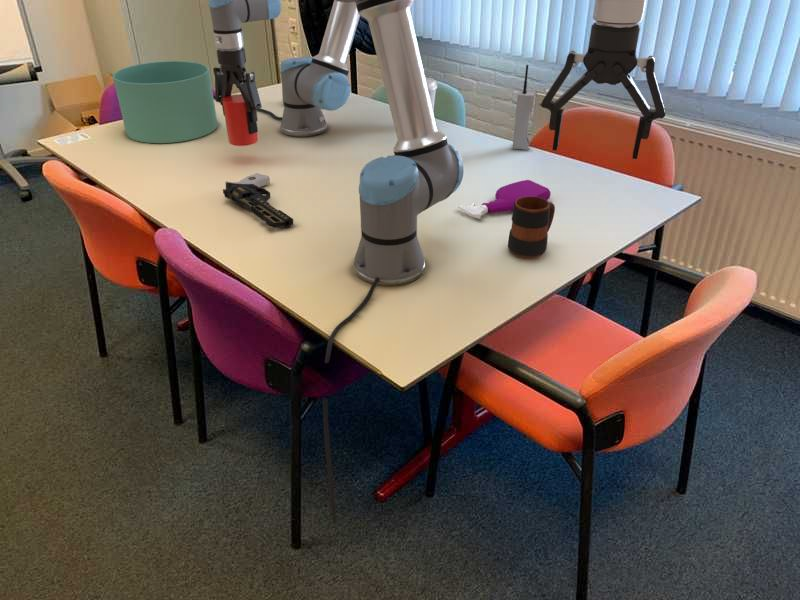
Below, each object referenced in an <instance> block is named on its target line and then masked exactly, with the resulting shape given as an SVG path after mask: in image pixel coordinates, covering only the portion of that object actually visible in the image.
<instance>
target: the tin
mask: <svg viewBox="0 0 800 600" xmlns="http://www.w3.org/2000/svg"><path fill="white" fill-rule="evenodd" d="M222 101H223V107H224V114H225V116H224V120H226V121H225V126H227V127H226V133H227V138H228V143H229V145H231V146H236V147H247V146H251V145H254V144H256V143H257V142H259V135H258V132H256V133H253V134H249V128H248V120H247V113H246V111H247V110H248V108H247V106H246V104H245V101H244V99H243V97H242V95H241V93H239V94H231V95H230V96H227V97H224V98H223V99H222ZM251 106H252V105H251ZM224 114H223V115H224Z"/></svg>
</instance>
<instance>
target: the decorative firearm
mask: <svg viewBox="0 0 800 600" xmlns="http://www.w3.org/2000/svg"><path fill="white" fill-rule="evenodd" d="M270 178H271V177H270V176H269V175H267V174H263V173H258V172H256V173H253V174H250V175H247V176H245V177H244V178H242V179H241V180H238V181H234V182H233V181H227V180H226V181H225V188H223V189H222V193H223V195H224V197H225V198H226V199H228V200H231V201H232V202H234V203H236V204H237V205H239V207H243V208H245V209H247V211H249V212H250V213H252V214H253V215H255V216H256V217H258V218H259V219H260V220H262V221H263V222H265V224H266V225H267V227H269V228H273V229H276V228H284V229H286V228H290V227H291V226H293V225H294V218H292V217H291V216H290V215H288V214H287V213H285V212H283V210H281V209H277V208H275V207H274V206H272V205H270V202H268V201H269V200H270V199H271V192H270V191H269V190H267V189H266V188H263V187H264V186H267V185H270V183H271V179H270Z"/></svg>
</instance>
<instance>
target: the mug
mask: <svg viewBox="0 0 800 600" xmlns="http://www.w3.org/2000/svg"><path fill="white" fill-rule="evenodd" d="M555 213H556V207H555V204H554V203H553V202H551V201H548V200H545V199H543V198H540V197H534V196H526V197H521V198H518V199H517V200H516V201H515V202H514V207H513V212H512V213H511V226H510V227H511V228H510V230H509V232H508V233H509V234H508V240H507V248H508V250H509V252H510V253H511V254H512V255H513V256H515V257H518V258H521V259H528V260H529V259H531V260H533V259H537V258H540V257H542V256H543V255H544V254H545V253H546V251H547V247H548V240H549V239H548V238H549V235H548V233H549V231H550V229H551V226H552V224H553V220H554V216H555Z"/></svg>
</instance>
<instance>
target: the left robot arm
mask: <svg viewBox="0 0 800 600" xmlns="http://www.w3.org/2000/svg"><path fill="white" fill-rule="evenodd" d="M207 1H208V8H209V13H210V18H211V19H210V20H211V24H212V29H213V30H212V31H213V36H214V42H215V48H216V57H217V62H218V64H219V66H215V67H213V68H212V71H213V75H214V93H215V94H214V95H213V99H214V100H215V102H216V103H219V104H220V106H221V108H222V115H223V116H224V117H225V114H224V107H223V101H222V99H223V98H224V97H227V96H230V95H232V93H233V92H232V91H233V85H235V87H236V89H238V90H239V92H240V94H241V95H242V97H243V99H244V101H245V104H246V106H247V108H248V110H247V111H246V113H247V120H248V128H249V134H253V133H256V132H257V133H259V132H258V131H259V130H258V129H259V128H258V120H259V119H258V113H257V112H262V113H265V114H267V115H270V116H271V117H272V118H273V119H275V120H276V121H277V120H278V121H281V122H280V132H281V133H282V134H284V135H286V136H289V137H299V138H301V137H303V138H304V137H312V136H318V135H320V134H324V133H325V132H326V131H327V129H328V128H327V126H328V125H327V120H326V118H325V114H323V113H324V112H323V111H322V110H325V111H336V110H339V109H340V108H342V107H343V106H344V105H345V104H346V103H347V101H348V99H349V97H350V94H351V91H352V90H351V87H352V86H351V84H350V80H349V78H348V76H349V73H350V68H349V67H348V65H347V61H348V59H349V56H350V55H349V54H350V52H351V48H352V45H353V41H354V38H355V34H356V31H357V28H358V25H359V21H360V18H361V15H359V14H358V10H357V7H356V3H355V2H349V3H346V2H339V1H336V0H333V3H332V8H331V10H330V14H329V17H328V21H327V24H326V28H325V31H324V35H323V37H322V41H321V46H320V49H319V52H318V54H316V55H314V56H297V57H289V58H285V59H286V60H285V59H282V60H283V61H282V60H281V61H282V62H281V61H280V64H279V65H280V70H279V71H280V72H279V74H280V78H281V79H280V80H281V90H282V89H283V96H282V100H283V99H284V105H283V113H282V116H278V115H275V114H274V113H273V112H271V111H270V110H267V109H264V108H263V105H262V102H261V97H260V94H259V91H258V87H257V83H256V73H255V72H254V71H247V69H246V67H245V64H246V62H247V57H246V50H245V48H244V47H245V43H244V35H243V27H242V24H244V23H245V24H246V23H250V22H260V21H266V20H267V21H270V20H272V19H273V20H274V19H276V18H277V19H278V17H279V16H280V15H281V12H282V2H281V1H282V0H207ZM251 105H252V106H251ZM224 120H225V119H224ZM225 122H226V120H225ZM225 126H226V125H225ZM226 128H227V126H226Z"/></svg>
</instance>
